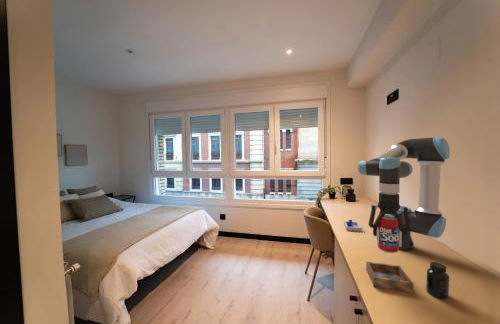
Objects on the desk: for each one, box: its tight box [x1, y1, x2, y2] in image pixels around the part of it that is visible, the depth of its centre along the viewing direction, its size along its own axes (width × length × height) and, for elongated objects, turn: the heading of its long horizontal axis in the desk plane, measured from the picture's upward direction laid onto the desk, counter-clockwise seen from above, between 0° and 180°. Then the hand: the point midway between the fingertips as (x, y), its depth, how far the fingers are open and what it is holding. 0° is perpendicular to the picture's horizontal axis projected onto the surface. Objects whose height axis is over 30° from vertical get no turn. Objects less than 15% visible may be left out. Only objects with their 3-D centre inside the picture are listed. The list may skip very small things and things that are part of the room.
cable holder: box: [347, 219, 353, 227], centre depth 163 cm, size 8×4×4 cm, turn 145°
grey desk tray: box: [343, 220, 363, 233], centre depth 161 cm, size 10×14×3 cm
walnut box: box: [365, 261, 414, 294], centre depth 95 cm, size 14×14×4 cm
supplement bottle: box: [425, 261, 450, 300], centre depth 85 cm, size 7×7×12 cm
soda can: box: [377, 214, 399, 254], centre depth 94 cm, size 8×8×15 cm
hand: (387, 244), depth 94 cm, fingers closed on soda can, 8 cm apart
